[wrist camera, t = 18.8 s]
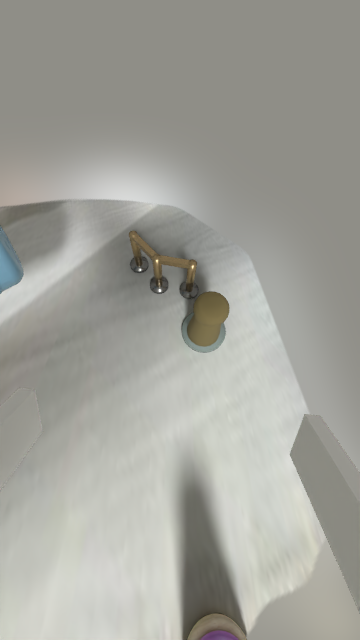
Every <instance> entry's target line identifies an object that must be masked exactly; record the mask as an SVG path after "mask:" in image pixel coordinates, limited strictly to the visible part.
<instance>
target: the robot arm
mask: <svg viewBox="0 0 360 640" xmlns="http://www.w3.org/2000/svg"><path fill="white" fill-rule="evenodd" d="M22 277H23V268H22V265H21V263H20V260H19V258H18V256H17V254H16V252H15V250H14V248H13V246H12V245H11V243H10V241H9V239H8V237H7V236H6V234H5V232H4V231H3V229H2V227H1V226H0V294H1V293H2V291H4V290H6V289H8V288H10V287H12V286H14V285H16V284H17V283H19V282H20V280H21V279H22ZM42 432H43V429H42V423H41V418H40V413H39V407H38V402H37V397H36V391H35V389H28V388H19V389H17V390H16V391H15V392H14V393H13V394H12V395H11V396H10V397H9V398H8V399H7V400H6V401H5V402H4V403H3V404H2V405H1V406H0V491H1V490H2V488H3V487H4V485H5V484H6V483H7V481H8V480H9V478H10V477H11V475H12V474H13V473H14V471H15V470H16V468H17V467H18V466H19V464H20V463H21V461H22V460H23V459H24V457H25V456H26V454H27V453H28V452H29V450H30V449H31V447H32V446H33V445H34V443H35V442H36V440H37V439H38V438H39V436H40V435H41V433H42ZM290 456H291V458H292V461H293V463H294V465H295V467H296V470H297V472H298V474H299V476H300V479H301V481H302V483H303V486H304V488H305V490H306V492H307V495H308V497H309V499H310V501H311V504H312V506H313V508H314V511H315V513H316V515H317V517H318V520H319V522H320V524H321V526H322V529H323V531H324V533H325V536H326V538H327V540H328V542H329V544H330V547H331V549H332V551H333V554H334V556H335V558H336V561H337V563H338V565H339V567H340V570H341V572H342V574H343V576H344V579H345V581H346V583H347V586H348V588H349V590H350V592H351V595H352V597H353V599H354V601H355V604H356V606H357V608H358V610H359V613H360V472H359V471H358V469H357V468H356V466H355V465H354V464H353V462H352V461H351V459H350V458H349V456H348V455H347V453H346V452H345V450H344V449H343V448H342V446H341V445H340V443H339V442H338V440H337V439H336V437H335V436H334V435H333V433H332V432H331V430H330V429H329V427H328V426H327V424H326V423H325V422H324V420H323V419H322V417H321V416H318V415H308V414H305V415H304V418H303V420H302V423H301V426H300V428H299V431H298V434H297V436H296V439H295V442H294V444H293V447H292V450H291V452H290Z"/></svg>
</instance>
